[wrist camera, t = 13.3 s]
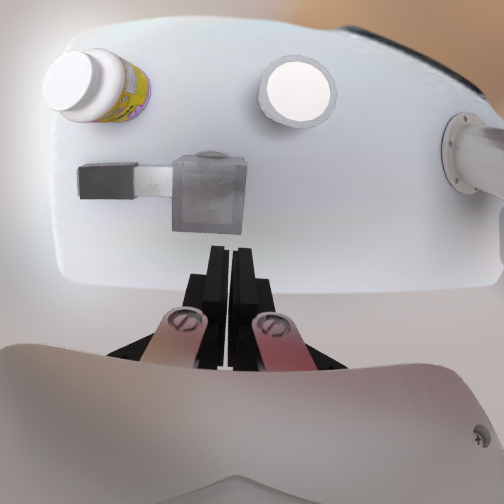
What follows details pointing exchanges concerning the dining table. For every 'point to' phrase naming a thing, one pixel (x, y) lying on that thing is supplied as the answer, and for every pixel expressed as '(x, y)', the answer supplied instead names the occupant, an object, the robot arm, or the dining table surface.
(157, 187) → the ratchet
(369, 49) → the dining table surface
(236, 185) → the grey cube
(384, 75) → the dining table surface
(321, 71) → the white cup
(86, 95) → the supplement bottle
